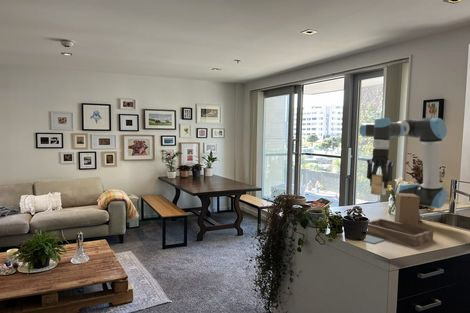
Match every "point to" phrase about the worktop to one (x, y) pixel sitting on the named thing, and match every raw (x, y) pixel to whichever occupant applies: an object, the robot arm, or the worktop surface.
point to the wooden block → (407, 209)
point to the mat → (373, 239)
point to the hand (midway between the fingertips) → (378, 193)
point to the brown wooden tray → (399, 232)
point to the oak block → (376, 184)
